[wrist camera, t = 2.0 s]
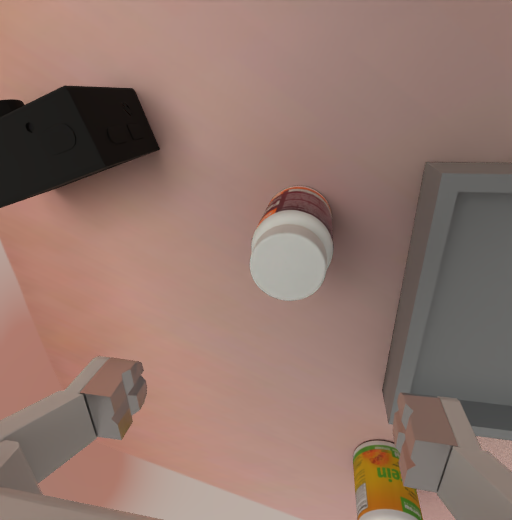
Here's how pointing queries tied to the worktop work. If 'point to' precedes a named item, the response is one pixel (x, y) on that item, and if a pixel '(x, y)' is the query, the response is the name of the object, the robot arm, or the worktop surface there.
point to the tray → (458, 297)
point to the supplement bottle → (382, 484)
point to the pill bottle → (292, 244)
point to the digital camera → (68, 138)
